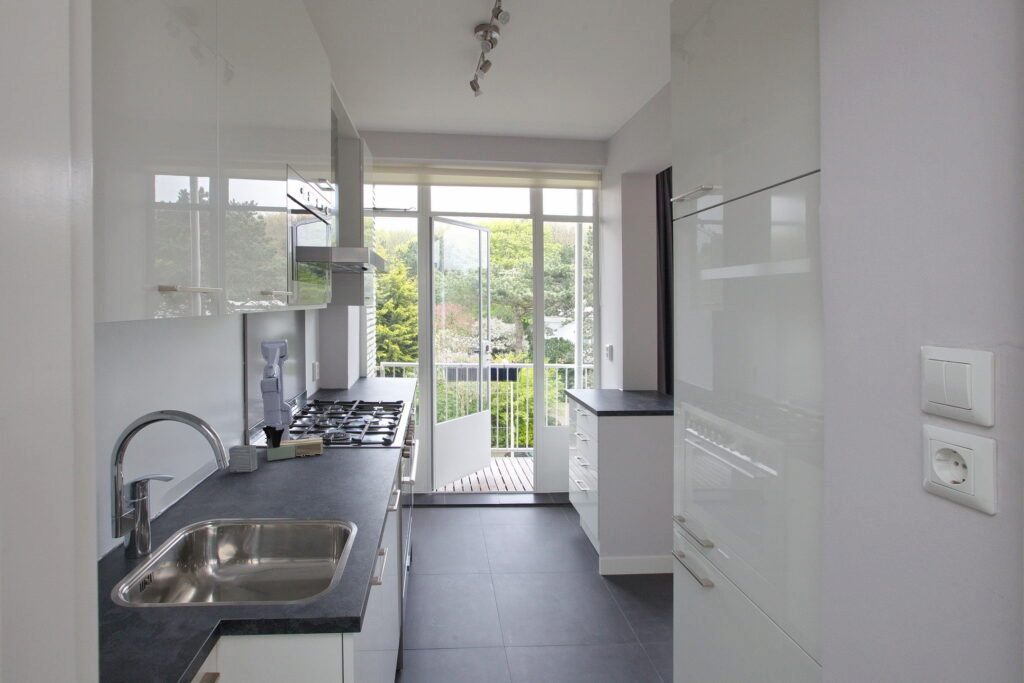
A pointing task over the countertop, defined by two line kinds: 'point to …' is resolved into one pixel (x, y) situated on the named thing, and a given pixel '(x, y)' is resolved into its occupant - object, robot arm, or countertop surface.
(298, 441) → the tan rectangular box
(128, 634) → the countertop surface
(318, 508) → the countertop surface
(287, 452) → the side door
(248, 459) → the medicine box
